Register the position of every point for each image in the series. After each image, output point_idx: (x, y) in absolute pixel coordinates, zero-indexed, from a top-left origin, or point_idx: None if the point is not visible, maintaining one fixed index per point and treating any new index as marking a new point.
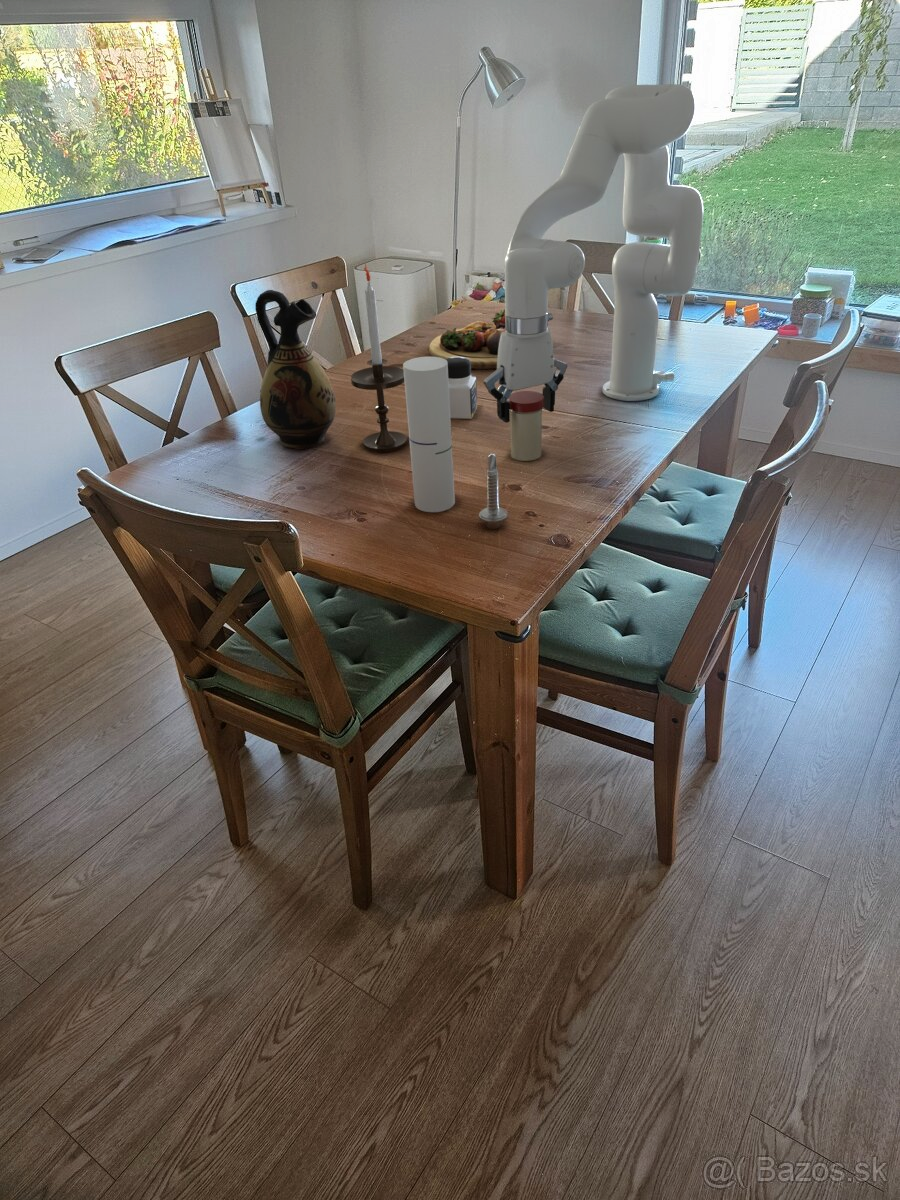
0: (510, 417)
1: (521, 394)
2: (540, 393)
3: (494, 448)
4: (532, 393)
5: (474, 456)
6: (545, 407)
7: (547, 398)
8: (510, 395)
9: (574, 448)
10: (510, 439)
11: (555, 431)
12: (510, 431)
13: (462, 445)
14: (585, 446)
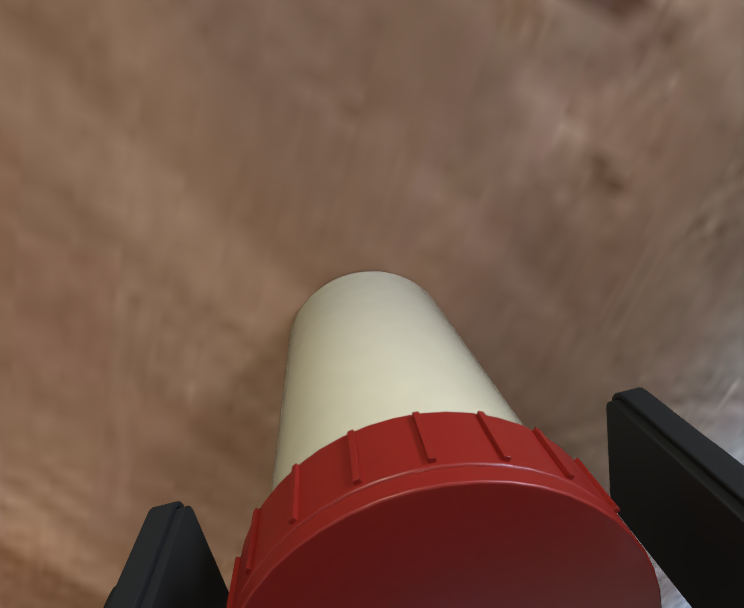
0: (271, 486)
1: (432, 586)
2: (656, 600)
3: (222, 211)
4: (573, 582)
5: (83, 283)
6: (616, 452)
7: (683, 550)
8: (279, 583)
9: (615, 344)
10: (286, 368)
11: (647, 87)
12: (281, 406)
13: (11, 87)
14: (671, 338)
